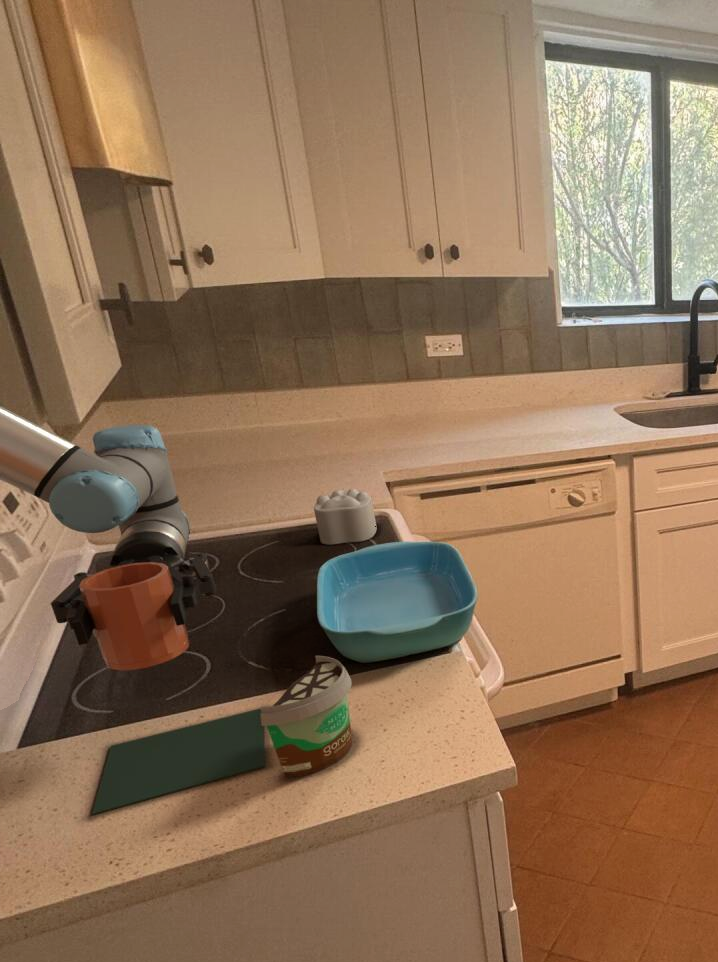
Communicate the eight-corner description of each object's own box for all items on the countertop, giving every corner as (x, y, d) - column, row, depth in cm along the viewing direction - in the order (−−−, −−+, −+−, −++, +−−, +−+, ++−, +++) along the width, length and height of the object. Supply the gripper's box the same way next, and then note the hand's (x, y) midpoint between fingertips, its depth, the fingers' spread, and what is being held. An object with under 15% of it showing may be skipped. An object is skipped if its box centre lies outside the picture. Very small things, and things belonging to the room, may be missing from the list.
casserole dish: (494, 652, 116) (489, 609, 114) (327, 690, 107) (316, 643, 104) (456, 567, 147) (451, 531, 144) (323, 590, 137) (315, 552, 135)
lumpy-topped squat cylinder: (316, 545, 157) (308, 505, 154) (327, 525, 169) (319, 486, 166) (373, 540, 160) (365, 500, 157) (380, 519, 172) (373, 482, 169)
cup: (111, 647, 94) (85, 571, 90) (191, 631, 97) (170, 557, 94) (101, 677, 87) (73, 596, 84) (187, 658, 91) (164, 580, 87)
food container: (331, 786, 88) (313, 710, 84) (277, 785, 88) (257, 709, 85) (381, 722, 100) (367, 653, 96) (333, 722, 100) (317, 653, 96)
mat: (111, 747, 95) (110, 745, 95) (263, 709, 103) (263, 707, 102) (92, 815, 84) (91, 813, 84) (265, 766, 91) (264, 765, 91)
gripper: (246, 566, 111) (247, 630, 93) (58, 599, 101) (17, 678, 83) (234, 517, 108) (232, 572, 90) (39, 545, 98) (-7, 615, 80)
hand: (129, 623), depth 86 cm, fingers closed on cup, 8 cm apart
